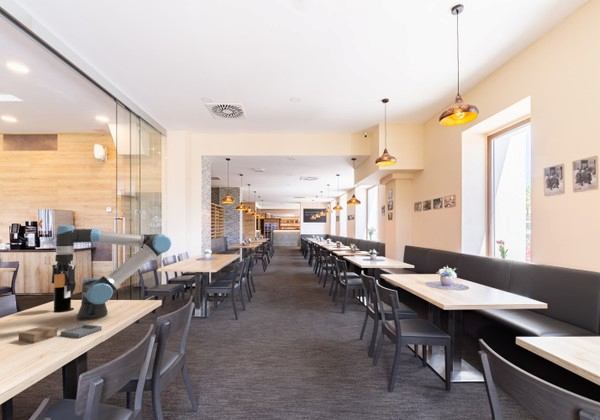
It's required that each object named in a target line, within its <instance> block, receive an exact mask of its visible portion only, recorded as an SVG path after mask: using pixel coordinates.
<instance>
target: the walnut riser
mask: <svg viewBox="0 0 600 420" xmlns="http://www.w3.org/2000/svg"><path fill="white" fill-rule="evenodd" d="M57 336H58V327H53V326H46V325H41V326H40V325H39V326H38V327H33V328H30V329H27V330H23V331H19V332H18V340H17V341H18V342H21V343H26V344H36V343H40V342H43V341H46V340H49V339H53V338H55V337H57Z"/></svg>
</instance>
